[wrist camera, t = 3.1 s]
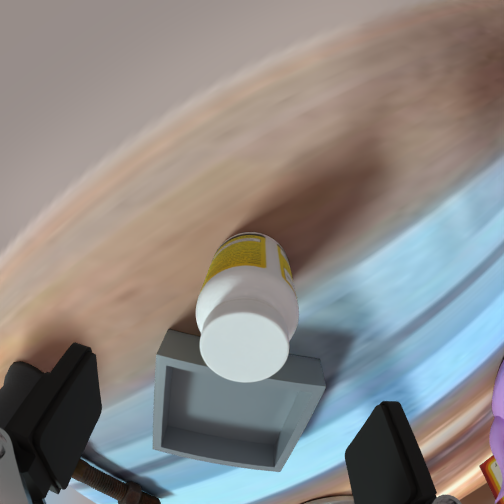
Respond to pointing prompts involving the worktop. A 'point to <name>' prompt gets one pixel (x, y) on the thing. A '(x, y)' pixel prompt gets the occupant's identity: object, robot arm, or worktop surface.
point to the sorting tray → (230, 408)
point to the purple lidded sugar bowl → (498, 424)
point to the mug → (16, 389)
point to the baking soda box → (493, 476)
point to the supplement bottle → (247, 309)
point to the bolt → (112, 485)
